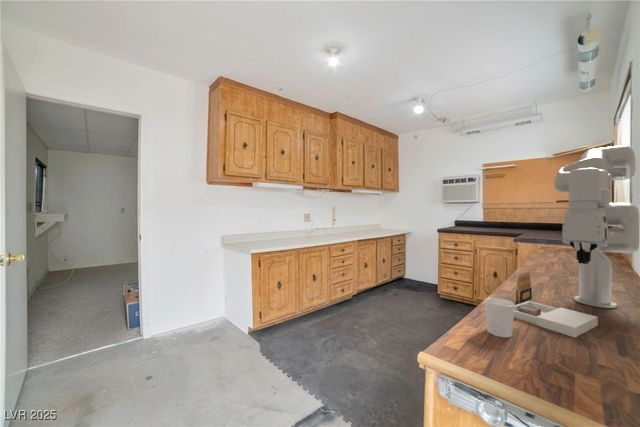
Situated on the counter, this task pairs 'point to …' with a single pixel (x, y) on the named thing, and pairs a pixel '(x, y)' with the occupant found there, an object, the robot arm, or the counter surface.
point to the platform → (567, 321)
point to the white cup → (499, 316)
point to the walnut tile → (530, 310)
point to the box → (529, 317)
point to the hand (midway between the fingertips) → (583, 263)
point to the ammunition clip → (523, 288)
